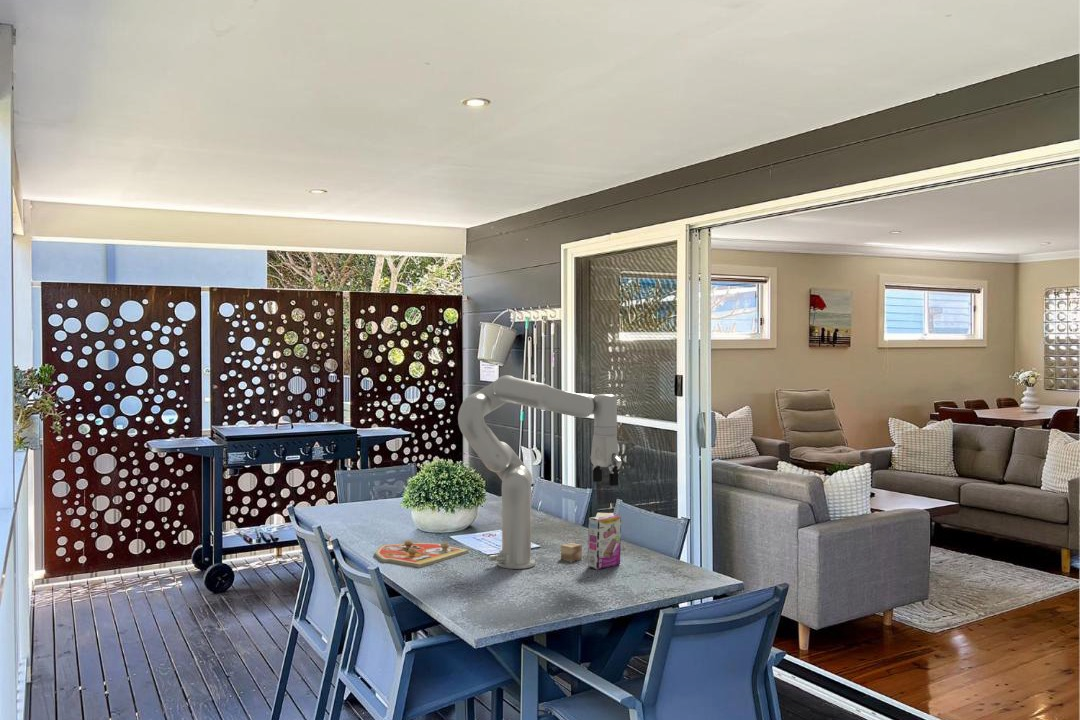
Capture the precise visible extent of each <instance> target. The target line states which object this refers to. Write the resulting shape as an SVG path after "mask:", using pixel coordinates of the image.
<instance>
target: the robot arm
mask: <svg viewBox="0 0 1080 720" xmlns="http://www.w3.org/2000/svg"><path fill="white" fill-rule="evenodd" d="M507 403H510V404H514V405H520V406H525V407H529V408H534V409H538V410H542V411H548V412H553V413H557V414H561V415H567V416H570V417H571V416H572V417H576V418H580V419H581V418H582V419H583V418H584V419H585V418H588V417H590V415H591V416H592V415H593V436H592V443H591V453H590V456H589V458H590V463H591V466H592V467H591V470H592V481H593V482H594V483H596V482H602V481H603V469H602V468H608V470H609V474H608V481H609V483H608V484H609V486H610V487H615V486H619V473H620V470H621V467H622V464H623V462H622V460H621V459H620V458H619V443H618V398H617V396H616V395H615V394H610V393H609V394H608V393H600V394H590V393H583V392H582V393H581V392H580V393H576V392H572V391H567V390H562V389H558V388H555V387H553V386H550V385H549V384H546V383H543V382H537V381H533V380H528V379H523V378H519V377H514V376H513V375H508V374H507V375H502V376H499V377H498V378H497V379H496V380H494V381H493V382H491V383H490V384H488V385H485V386H484V387H482V388H481V389H479V390H478V391H475V392H474V393H471V394H470V395H469V394H468V396H467V397H466V398H464V400H463V401H462V403H461V405H460V407H459V410H458V415H457V421H458V422H457V423H458V427H459V430H460V432H461V434H462V436H463V437H464V438H465V440H466V442H468V444H469V445H470V446H471V448H472V449H473V451H474V452H475V453H476V455H477V456H478V457H479V459H480V460H481V461H482V463H483V464H484V466H485V467H486V468H487V469H488V470H489V471H491V472H493V473H495V474H496V475H497V476H498V477H499V479H500V481H502V482H501V515H502V516H501V518H502V519H501V522H502V523H501V527H502V529H501V530H502V531H501V534H502V535H501V537H502V538H501V550H499V551H498V553H496V554H491V555H490V554H489V555H488V561H489V562H496V564H497V566H498V567H501V568H502V569H503V568H504V569H510V570H522V569H529V568H533V567H535V566H536V560H535V559H533V558H532V551H531V550H532V495H531V494H532V484H533V476H532V474H531V471H530V469H529V468H528V467H527V466H526V465H525V463H524V462H523V461H522V460H521V459H520V457H519V456H518V454H517V453H516V452H515V451H514V449H513V448H512V447H511V446H510V445H509V444H508V443H506V442H505V441H500V439H499V438H498V437H497V436H496V435H495V433H494V432H493V431H492V429H491V428H490V427H489V426H488V424H487V423H486V421H485V416H487V415H488V414H490V413H492V412H493V411H495V410H497V409H498V408H500V407H502V406H503V405H504V404H507Z"/></svg>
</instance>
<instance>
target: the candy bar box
mask: <svg viewBox="0 0 1080 720" xmlns="http://www.w3.org/2000/svg"><path fill="white" fill-rule="evenodd" d="M621 533H622V516H620V515H618V514H617V515H616V514H614V515H612V514H609V515H603V516H597V517H596V516H593V517H588V537H587V542H588V543H587V567H588V568H590V569H593V570H597V571H598V570H602V568H603V569H606V567H607V568H611V567H614V566H613V565H615V566H618V565H617V564H620V565H621V545H622V544H621V540H622V539H621V536H622V534H621ZM610 566H611V567H610Z"/></svg>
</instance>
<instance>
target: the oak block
mask: <svg viewBox="0 0 1080 720" xmlns="http://www.w3.org/2000/svg"><path fill="white" fill-rule="evenodd" d="M582 547H583V546H582V544H578V543H574V542H569V543H564V544H561V545H560V560H562V559H565V560H564V561H566V560H568V561H567V562H570V561H573V562H576V561H575V560H577V561H580V560H579V559H582V558H583V556H582V555H583V554H582V553H583V551H582V550H583V549H582Z"/></svg>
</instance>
